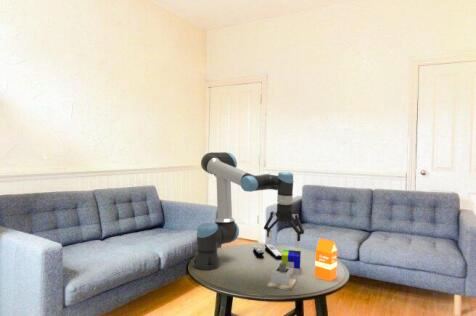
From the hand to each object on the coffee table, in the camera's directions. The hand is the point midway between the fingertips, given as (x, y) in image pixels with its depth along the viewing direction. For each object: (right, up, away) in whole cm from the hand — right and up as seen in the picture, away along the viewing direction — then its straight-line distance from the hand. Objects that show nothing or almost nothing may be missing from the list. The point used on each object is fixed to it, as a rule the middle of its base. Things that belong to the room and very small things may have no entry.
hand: (283, 245), depth 168 cm
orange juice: (+24, -20, +11) cm, 33 cm away
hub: (0, -18, 0) cm, 18 cm away
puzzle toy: (+7, -19, +19) cm, 28 cm away
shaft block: (0, -19, +1) cm, 20 cm away
